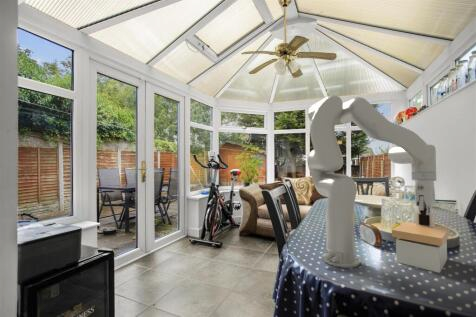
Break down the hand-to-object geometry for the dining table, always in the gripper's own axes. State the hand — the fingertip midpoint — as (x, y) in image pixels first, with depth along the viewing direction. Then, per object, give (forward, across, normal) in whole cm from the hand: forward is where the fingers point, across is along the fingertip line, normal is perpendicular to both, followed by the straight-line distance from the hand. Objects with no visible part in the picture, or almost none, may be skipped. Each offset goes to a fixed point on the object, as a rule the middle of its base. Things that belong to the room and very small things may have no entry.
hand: (424, 224), depth 91 cm
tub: (+12, -6, 0) cm, 14 cm away
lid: (+3, -6, 0) cm, 7 cm away
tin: (+12, +1, +20) cm, 23 cm away
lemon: (+12, +14, +12) cm, 22 cm away
